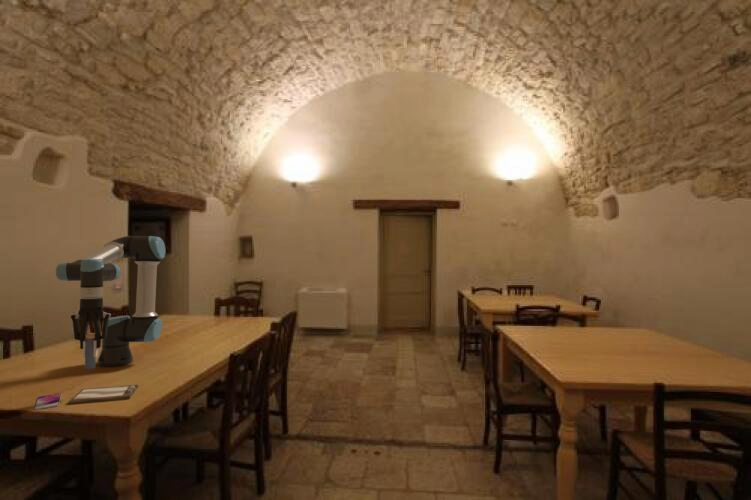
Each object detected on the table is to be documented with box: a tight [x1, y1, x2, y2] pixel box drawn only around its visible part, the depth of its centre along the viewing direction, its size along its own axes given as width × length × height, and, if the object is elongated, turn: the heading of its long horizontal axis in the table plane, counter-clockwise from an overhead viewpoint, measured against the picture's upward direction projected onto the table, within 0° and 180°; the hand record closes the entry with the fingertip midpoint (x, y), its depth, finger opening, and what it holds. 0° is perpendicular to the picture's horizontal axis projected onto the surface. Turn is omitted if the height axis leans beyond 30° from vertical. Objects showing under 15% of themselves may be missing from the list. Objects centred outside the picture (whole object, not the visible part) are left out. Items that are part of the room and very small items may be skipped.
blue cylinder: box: [84, 332, 97, 370], centre depth 160 cm, size 4×4×14 cm
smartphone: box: [33, 392, 62, 411], centre depth 152 cm, size 7×1×15 cm
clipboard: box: [67, 384, 139, 405], centre depth 160 cm, size 14×20×2 cm
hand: (90, 356), depth 160 cm, fingers closed on blue cylinder, 3 cm apart
